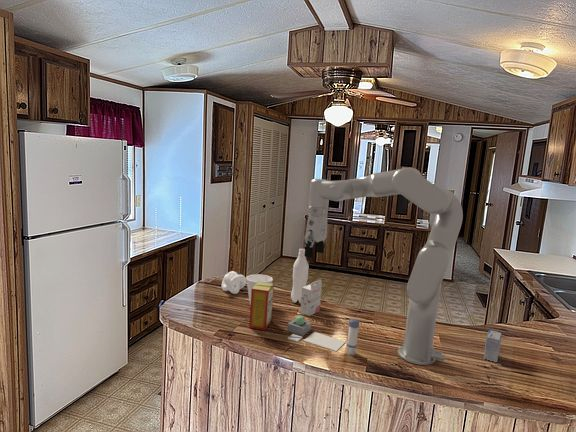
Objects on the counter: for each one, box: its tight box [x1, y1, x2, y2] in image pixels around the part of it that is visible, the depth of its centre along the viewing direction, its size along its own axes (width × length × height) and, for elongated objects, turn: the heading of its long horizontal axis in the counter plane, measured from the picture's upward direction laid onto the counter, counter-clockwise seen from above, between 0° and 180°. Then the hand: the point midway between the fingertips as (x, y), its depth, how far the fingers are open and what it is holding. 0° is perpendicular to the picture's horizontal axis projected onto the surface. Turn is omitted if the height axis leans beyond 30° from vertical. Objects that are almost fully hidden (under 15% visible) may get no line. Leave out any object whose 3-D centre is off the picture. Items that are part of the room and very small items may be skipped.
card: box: [287, 333, 303, 343], centre depth 147 cm, size 4×4×1 cm
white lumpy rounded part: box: [221, 270, 247, 295], centre depth 192 cm, size 11×12×9 cm
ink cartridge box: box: [299, 279, 323, 317], centre depth 173 cm, size 9×5×15 cm, turn 143°
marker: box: [345, 318, 360, 356], centre depth 139 cm, size 3×3×12 cm
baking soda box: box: [248, 282, 275, 331], centre depth 156 cm, size 10×6×16 cm
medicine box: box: [483, 329, 503, 363], centre depth 144 cm, size 8×4×9 cm, turn 148°
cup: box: [245, 273, 274, 306], centre depth 176 cm, size 12×12×12 cm
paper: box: [303, 331, 347, 352], centre depth 146 cm, size 13×9×1 cm
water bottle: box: [290, 248, 310, 304], centre depth 183 cm, size 7×7×25 cm
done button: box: [295, 314, 306, 326], centre depth 154 cm, size 3×3×4 cm
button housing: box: [286, 317, 312, 337], centre depth 154 cm, size 7×7×3 cm
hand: (314, 254), depth 155 cm, fingers open, 9 cm apart
